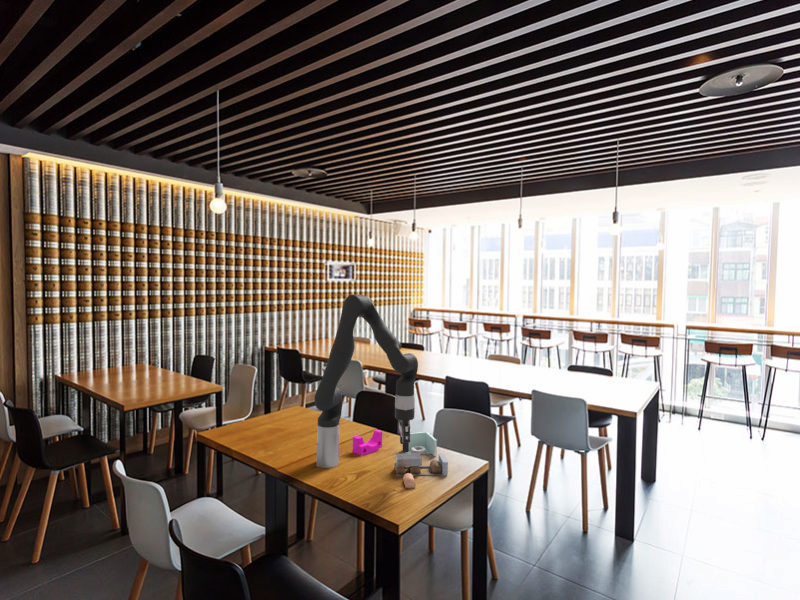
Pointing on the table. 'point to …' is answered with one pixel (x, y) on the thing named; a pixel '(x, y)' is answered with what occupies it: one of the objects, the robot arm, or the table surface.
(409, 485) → the roller
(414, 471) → the roller bed
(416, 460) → the slab
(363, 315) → the robot arm
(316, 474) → the table surface
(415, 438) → the l-shaped corner panel
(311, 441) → the table surface
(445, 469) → the stop gate
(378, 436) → the magenta curved bracket
